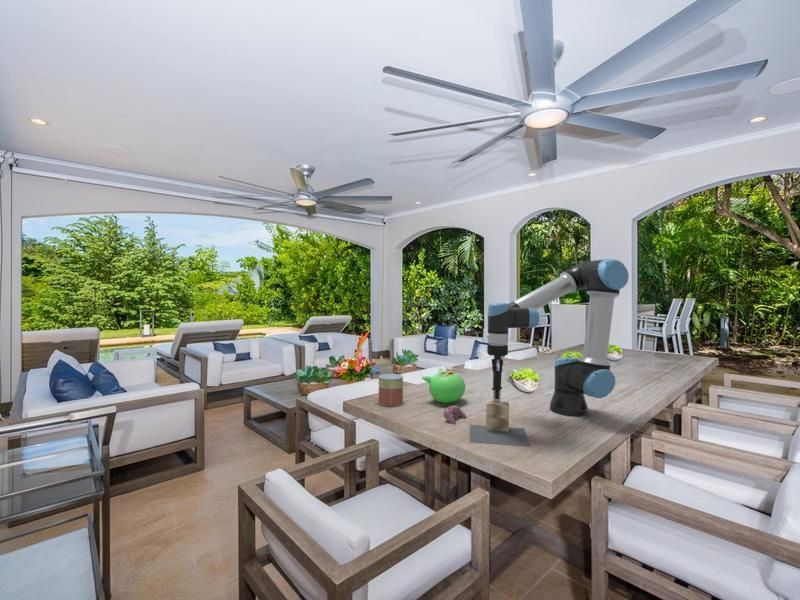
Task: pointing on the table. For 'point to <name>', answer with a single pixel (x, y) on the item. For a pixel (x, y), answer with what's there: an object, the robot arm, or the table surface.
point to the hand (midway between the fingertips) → (496, 406)
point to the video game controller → (455, 411)
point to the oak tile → (497, 416)
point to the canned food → (390, 389)
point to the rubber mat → (499, 436)
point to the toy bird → (446, 386)
